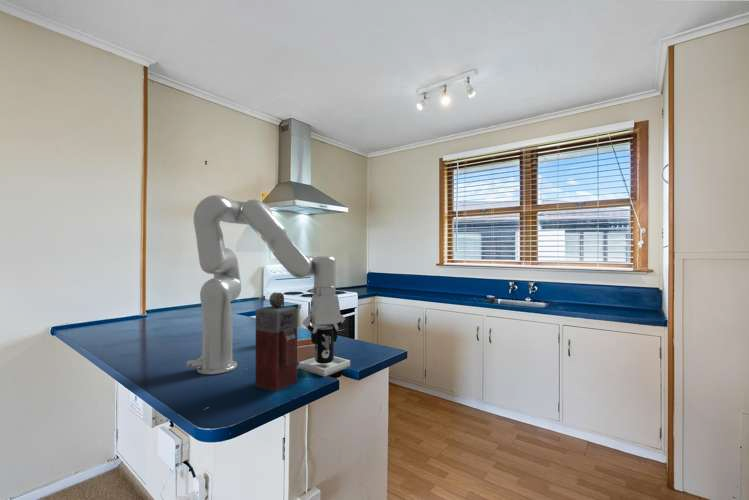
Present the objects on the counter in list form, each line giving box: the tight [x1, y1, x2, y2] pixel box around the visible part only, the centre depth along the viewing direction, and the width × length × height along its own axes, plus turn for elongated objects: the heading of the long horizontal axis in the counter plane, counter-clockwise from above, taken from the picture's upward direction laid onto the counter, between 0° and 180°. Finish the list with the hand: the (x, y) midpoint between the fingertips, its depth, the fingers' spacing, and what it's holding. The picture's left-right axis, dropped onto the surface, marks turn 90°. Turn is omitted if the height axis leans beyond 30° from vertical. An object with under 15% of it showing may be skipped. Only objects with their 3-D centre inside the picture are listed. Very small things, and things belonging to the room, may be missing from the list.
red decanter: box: [254, 292, 298, 392], centre depth 105 cm, size 9×11×28 cm
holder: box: [297, 337, 315, 364], centre depth 133 cm, size 11×11×6 cm
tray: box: [298, 355, 351, 378], centre depth 120 cm, size 13×13×2 cm
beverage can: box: [315, 325, 335, 364], centre depth 120 cm, size 7×7×12 cm
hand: (324, 342), depth 120 cm, fingers closed on beverage can, 6 cm apart
